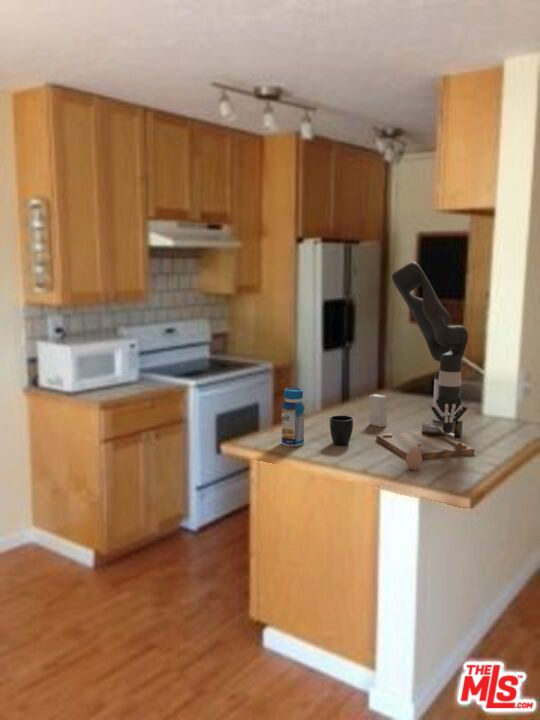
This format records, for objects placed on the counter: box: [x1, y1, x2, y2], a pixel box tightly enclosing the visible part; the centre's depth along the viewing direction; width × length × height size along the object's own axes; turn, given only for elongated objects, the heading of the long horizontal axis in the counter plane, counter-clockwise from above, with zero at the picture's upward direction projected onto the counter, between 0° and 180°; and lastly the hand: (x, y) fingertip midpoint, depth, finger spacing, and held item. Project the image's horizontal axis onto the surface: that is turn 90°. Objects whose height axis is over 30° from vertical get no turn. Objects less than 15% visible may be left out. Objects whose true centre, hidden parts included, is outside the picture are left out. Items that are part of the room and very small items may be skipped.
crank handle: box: [421, 419, 463, 441], centre depth 244 cm, size 22×9×8 cm, turn 16°
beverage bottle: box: [280, 387, 306, 447], centre depth 241 cm, size 8×8×20 cm
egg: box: [405, 449, 423, 471], centre depth 214 cm, size 5×5×7 cm
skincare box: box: [368, 393, 388, 428], centre depth 268 cm, size 6×4×12 cm
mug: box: [329, 414, 354, 447], centre depth 244 cm, size 8×12×10 cm
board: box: [375, 430, 476, 460], centre depth 239 cm, size 25×25×3 cm
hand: (447, 432), depth 234 cm, fingers closed
